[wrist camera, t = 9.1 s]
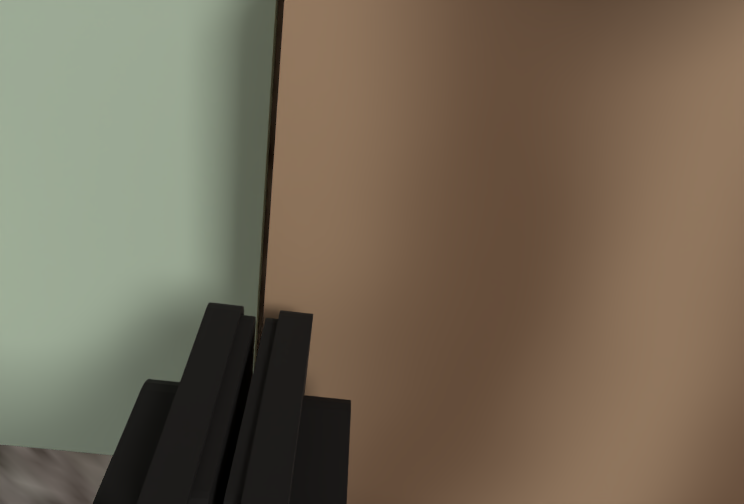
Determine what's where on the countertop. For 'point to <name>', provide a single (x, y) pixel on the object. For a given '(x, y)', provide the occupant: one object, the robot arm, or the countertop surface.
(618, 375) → the board
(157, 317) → the mat
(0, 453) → the countertop surface
